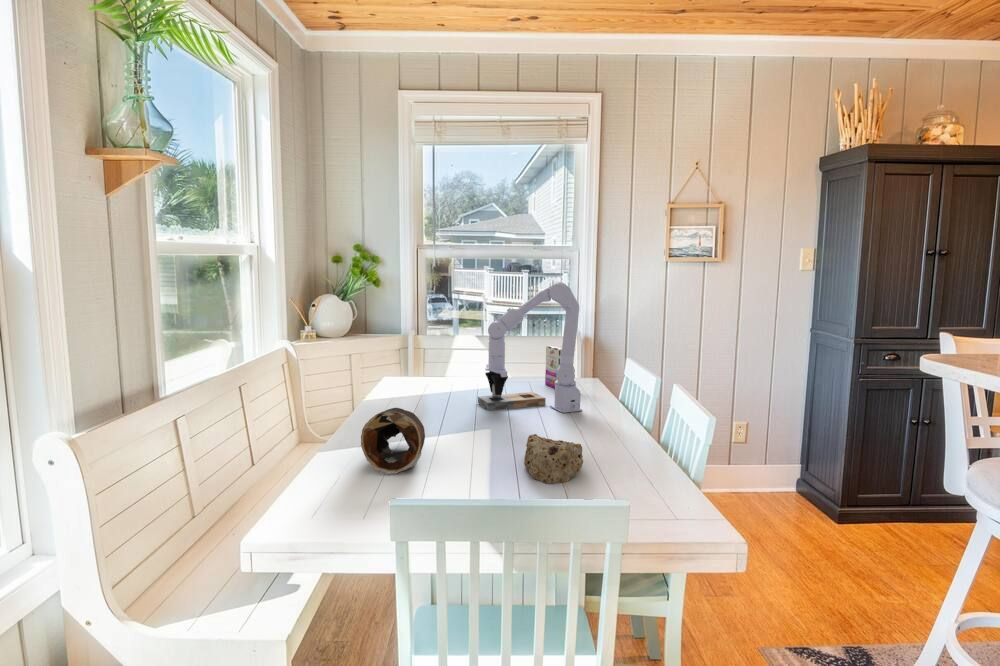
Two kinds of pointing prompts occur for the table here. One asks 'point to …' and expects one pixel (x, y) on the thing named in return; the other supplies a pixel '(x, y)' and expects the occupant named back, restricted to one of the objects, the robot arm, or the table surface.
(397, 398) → the table surface
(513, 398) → the dock board
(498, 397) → the pin
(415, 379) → the table surface
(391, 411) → the hollow brown log
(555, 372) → the candy bar box
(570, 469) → the rock
